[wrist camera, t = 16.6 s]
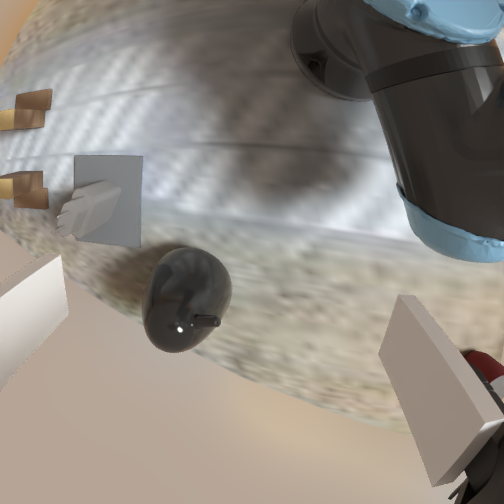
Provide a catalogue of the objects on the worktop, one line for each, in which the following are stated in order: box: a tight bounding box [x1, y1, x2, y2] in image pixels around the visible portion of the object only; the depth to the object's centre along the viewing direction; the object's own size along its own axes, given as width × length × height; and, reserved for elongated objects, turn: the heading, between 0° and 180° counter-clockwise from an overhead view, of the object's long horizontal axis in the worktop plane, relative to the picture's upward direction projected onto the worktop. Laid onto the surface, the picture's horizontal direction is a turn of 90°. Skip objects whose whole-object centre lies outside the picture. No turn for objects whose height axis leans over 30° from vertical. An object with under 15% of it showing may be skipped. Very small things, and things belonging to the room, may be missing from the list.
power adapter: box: [52, 180, 121, 238], centre depth 33 cm, size 3×5×12 cm, turn 149°
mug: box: [464, 351, 504, 400], centre depth 42 cm, size 11×8×10 cm
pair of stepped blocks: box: [0, 89, 52, 209], centre depth 34 cm, size 18×7×8 cm, turn 174°
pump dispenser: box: [142, 247, 232, 353], centre depth 35 cm, size 10×10×15 cm
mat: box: [75, 155, 143, 248], centre depth 39 cm, size 12×10×1 cm
